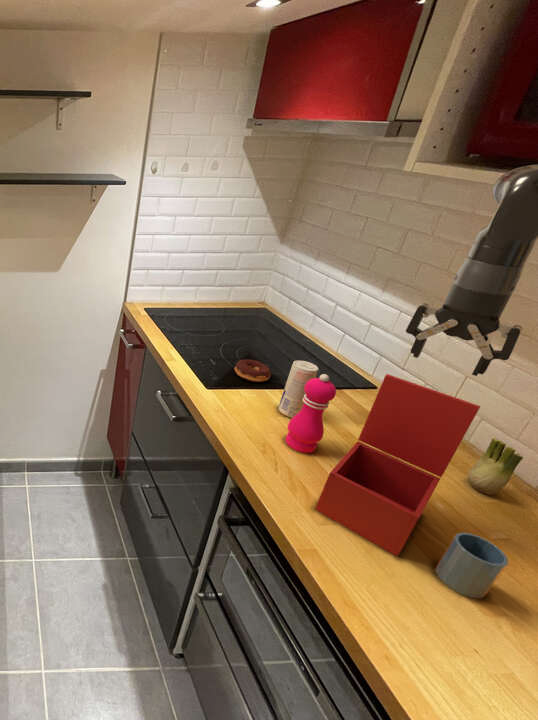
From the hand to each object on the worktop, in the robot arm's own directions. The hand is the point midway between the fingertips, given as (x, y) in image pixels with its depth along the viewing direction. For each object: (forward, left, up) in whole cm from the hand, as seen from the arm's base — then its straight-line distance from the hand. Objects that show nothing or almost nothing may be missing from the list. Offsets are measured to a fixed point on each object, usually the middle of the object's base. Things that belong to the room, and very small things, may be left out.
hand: (444, 364), depth 85 cm
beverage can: (+17, -21, -30) cm, 40 cm away
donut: (+26, -38, -30) cm, 55 cm away
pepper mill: (+16, -7, -30) cm, 35 cm away
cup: (-5, +22, -30) cm, 38 cm away
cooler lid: (+2, +5, -12) cm, 13 cm away
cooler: (+6, +11, -30) cm, 33 cm away
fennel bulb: (-18, -8, -30) cm, 36 cm away
